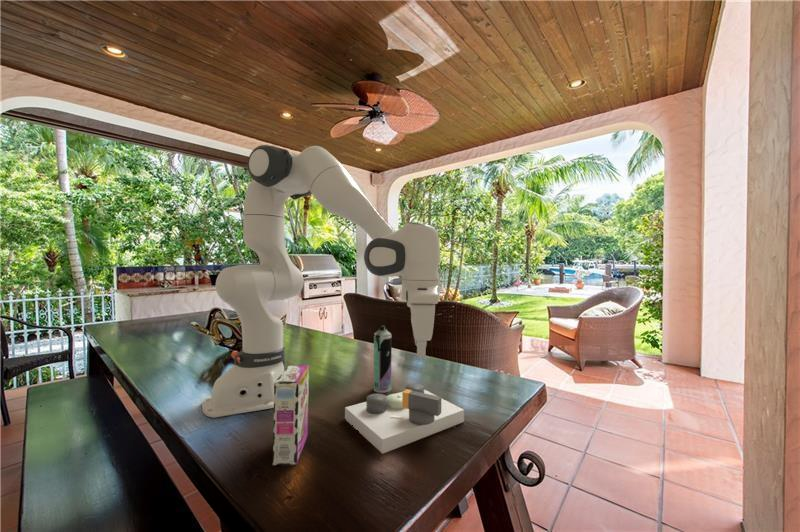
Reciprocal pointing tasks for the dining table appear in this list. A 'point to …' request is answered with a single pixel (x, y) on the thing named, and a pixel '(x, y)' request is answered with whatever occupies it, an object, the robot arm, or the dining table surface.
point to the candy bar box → (290, 415)
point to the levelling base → (397, 420)
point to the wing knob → (421, 406)
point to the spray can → (382, 360)
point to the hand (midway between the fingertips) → (419, 350)
